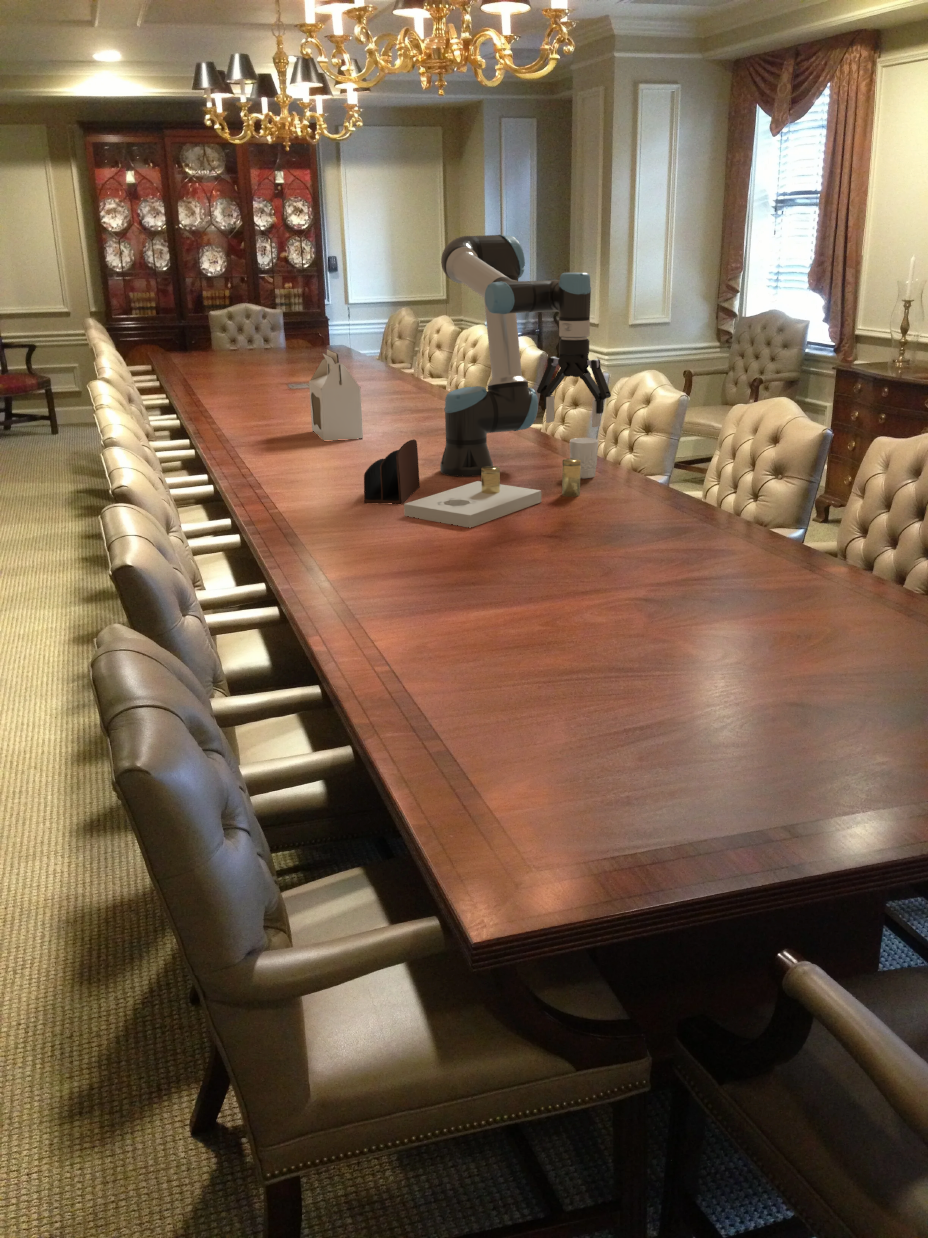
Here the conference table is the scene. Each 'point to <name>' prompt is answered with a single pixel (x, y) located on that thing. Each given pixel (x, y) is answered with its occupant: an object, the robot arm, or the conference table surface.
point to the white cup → (585, 455)
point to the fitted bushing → (490, 479)
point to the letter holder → (393, 476)
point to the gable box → (335, 401)
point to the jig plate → (471, 504)
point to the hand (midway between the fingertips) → (572, 424)
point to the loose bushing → (571, 477)
